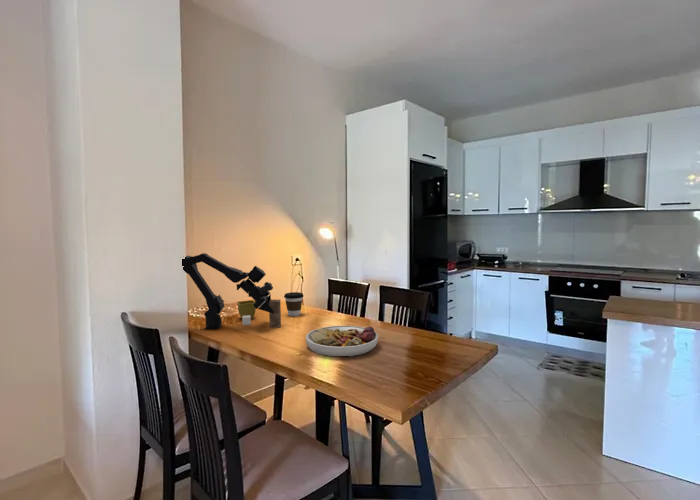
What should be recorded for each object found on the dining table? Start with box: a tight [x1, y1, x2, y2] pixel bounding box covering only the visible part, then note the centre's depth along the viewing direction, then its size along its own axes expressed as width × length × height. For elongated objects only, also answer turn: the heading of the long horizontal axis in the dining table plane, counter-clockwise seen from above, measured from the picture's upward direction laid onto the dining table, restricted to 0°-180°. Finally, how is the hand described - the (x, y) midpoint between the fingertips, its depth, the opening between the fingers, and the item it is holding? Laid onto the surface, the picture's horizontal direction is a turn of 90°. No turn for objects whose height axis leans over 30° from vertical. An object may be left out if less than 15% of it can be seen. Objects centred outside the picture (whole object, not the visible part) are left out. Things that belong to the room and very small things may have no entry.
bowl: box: [305, 325, 379, 357], centre depth 158 cm, size 30×30×8 cm
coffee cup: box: [283, 291, 304, 317], centre depth 212 cm, size 11×11×12 cm
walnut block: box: [268, 299, 282, 329], centre depth 189 cm, size 5×5×13 cm
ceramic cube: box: [241, 315, 252, 326], centre depth 194 cm, size 4×4×4 cm
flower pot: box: [236, 299, 257, 320], centre depth 205 cm, size 9×9×9 cm
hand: (274, 310), depth 189 cm, fingers open, 9 cm apart
